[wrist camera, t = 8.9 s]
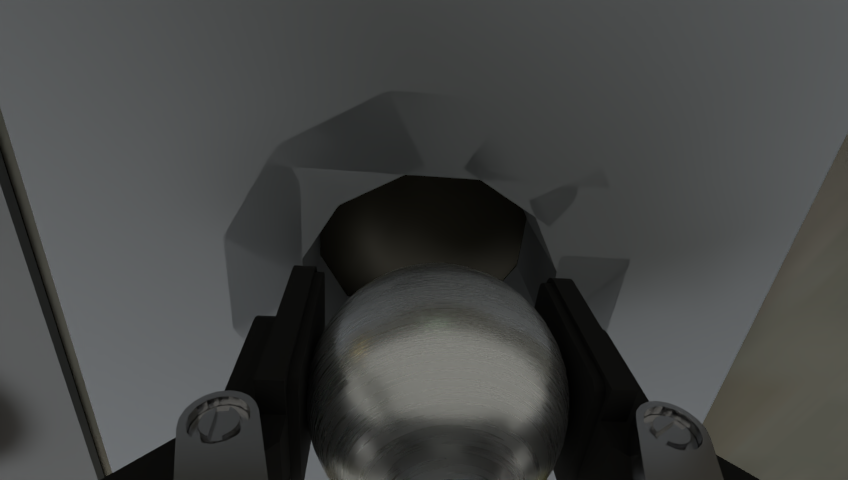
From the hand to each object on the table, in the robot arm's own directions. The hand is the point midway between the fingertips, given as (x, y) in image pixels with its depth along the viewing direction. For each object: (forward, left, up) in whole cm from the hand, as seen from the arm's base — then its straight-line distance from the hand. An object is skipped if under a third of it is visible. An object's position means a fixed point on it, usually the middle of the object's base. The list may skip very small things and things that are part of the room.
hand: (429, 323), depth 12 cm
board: (0, 0, -5) cm, 5 cm away
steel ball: (0, 0, +2) cm, 2 cm away
